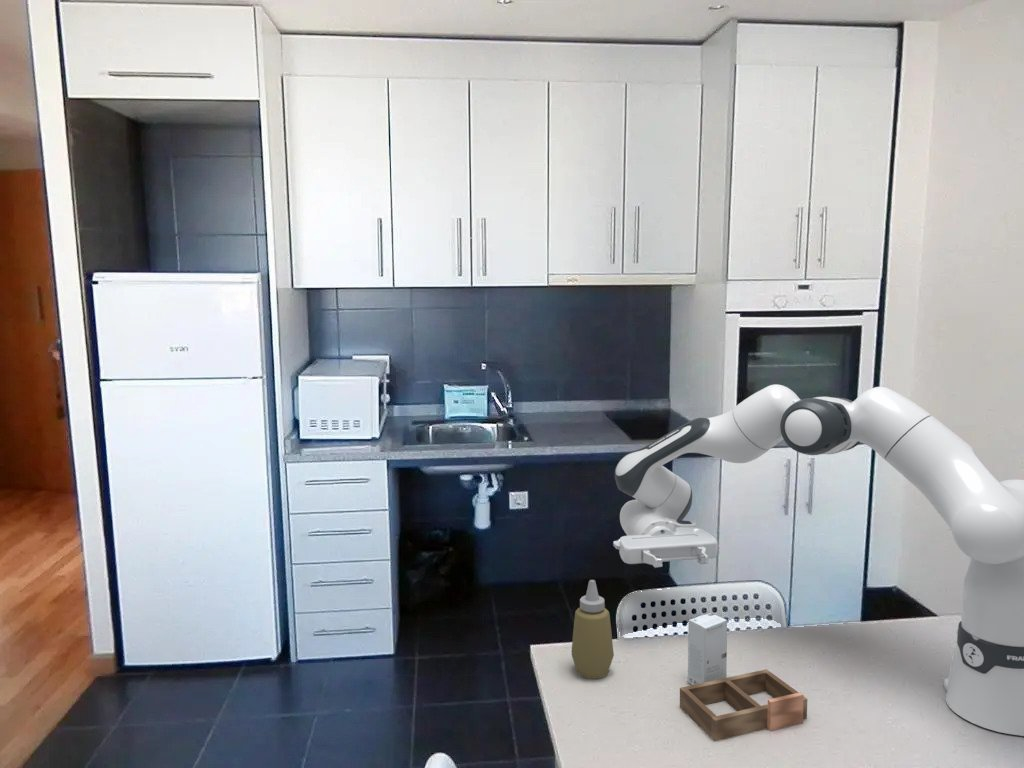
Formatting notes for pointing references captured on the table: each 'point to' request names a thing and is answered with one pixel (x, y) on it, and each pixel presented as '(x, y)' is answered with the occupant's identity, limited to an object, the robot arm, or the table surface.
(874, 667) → the table surface
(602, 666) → the squeeze bottle
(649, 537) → the robot arm
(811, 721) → the table surface
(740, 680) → the wooden compartment holder
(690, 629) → the skincare box
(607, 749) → the table surface
